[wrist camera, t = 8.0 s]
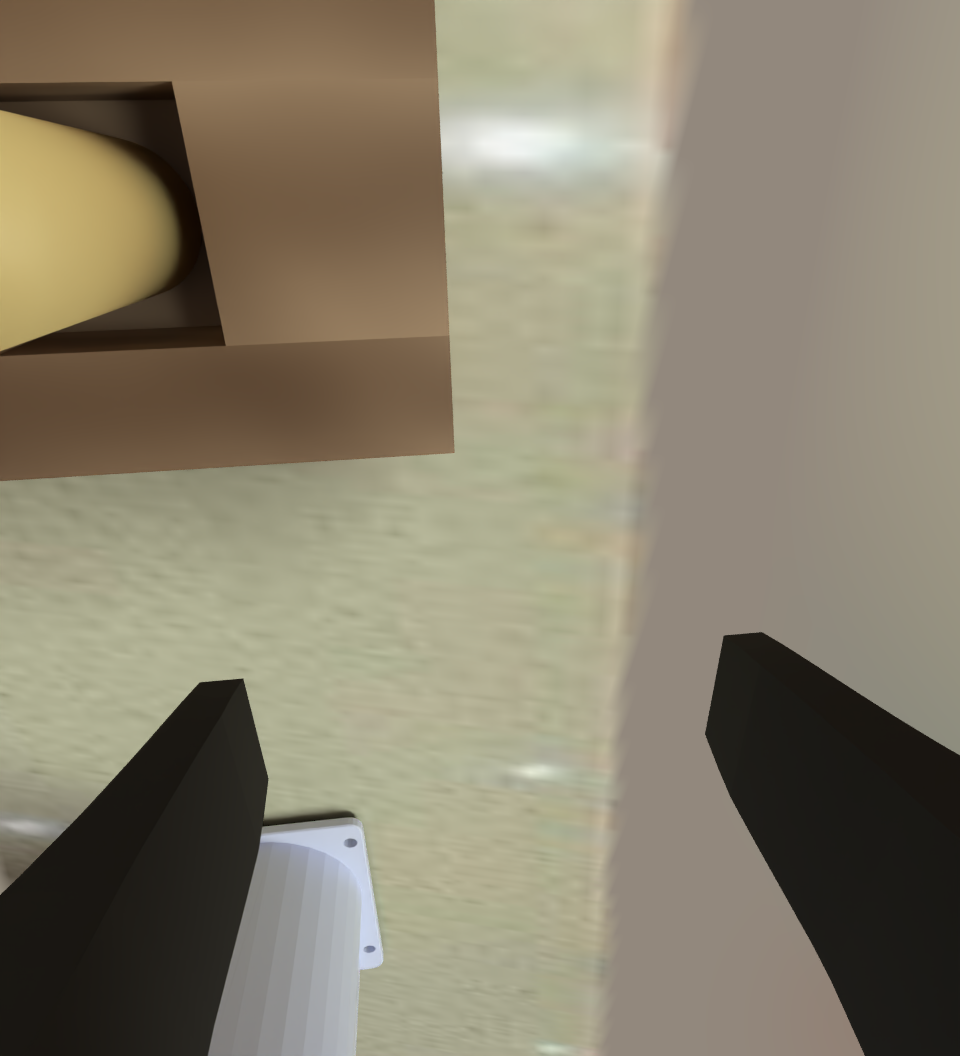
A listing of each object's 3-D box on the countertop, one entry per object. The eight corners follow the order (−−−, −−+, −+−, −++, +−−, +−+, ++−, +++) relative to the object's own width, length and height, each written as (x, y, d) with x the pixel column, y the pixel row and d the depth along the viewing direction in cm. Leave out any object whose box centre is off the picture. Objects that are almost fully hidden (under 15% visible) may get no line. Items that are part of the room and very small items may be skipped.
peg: (215, 292, 15) (84, 351, 9) (75, 300, 15) (-160, 366, 9) (181, 134, 14) (-3, 75, 8) (25, 140, 14) (-297, 84, 7)
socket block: (446, 414, 18) (454, 452, 15) (-95, 444, 17) (-189, 492, 14) (423, -59, 13) (429, -122, 11) (-333, -65, 12) (-541, -137, 9)
